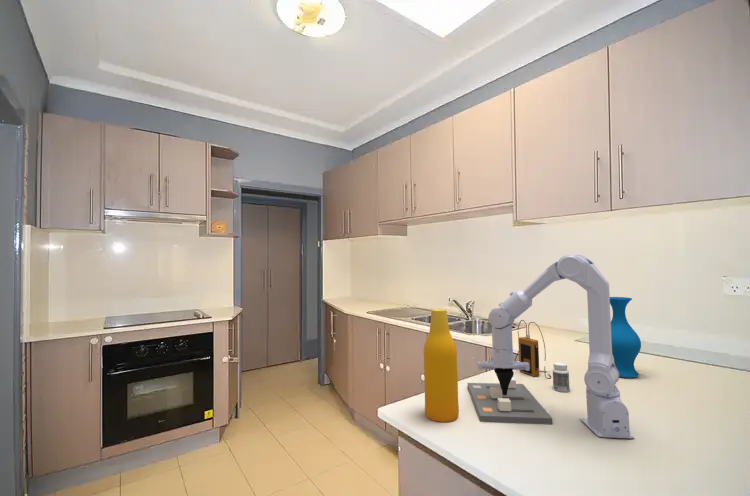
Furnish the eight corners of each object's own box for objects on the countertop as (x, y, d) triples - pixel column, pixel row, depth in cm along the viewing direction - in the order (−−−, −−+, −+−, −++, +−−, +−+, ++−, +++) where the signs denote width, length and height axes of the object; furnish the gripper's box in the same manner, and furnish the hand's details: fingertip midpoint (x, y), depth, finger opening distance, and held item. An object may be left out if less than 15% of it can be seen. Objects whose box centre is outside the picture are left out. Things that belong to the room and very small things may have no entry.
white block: (511, 411, 94) (510, 401, 94) (499, 410, 95) (499, 401, 95) (509, 407, 97) (508, 398, 97) (497, 407, 97) (497, 398, 97)
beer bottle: (463, 412, 98) (460, 308, 100) (452, 425, 90) (449, 313, 92) (432, 406, 103) (429, 307, 105) (419, 418, 95) (417, 311, 97)
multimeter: (562, 376, 128) (560, 321, 129) (542, 380, 124) (540, 323, 125) (531, 366, 141) (529, 316, 142) (512, 369, 138) (510, 318, 139)
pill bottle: (571, 392, 112) (570, 366, 112) (555, 391, 113) (554, 365, 113) (566, 387, 116) (565, 362, 117) (551, 386, 117) (550, 361, 118)
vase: (610, 378, 124) (606, 299, 125) (597, 368, 136) (593, 296, 138) (650, 380, 121) (645, 299, 123) (632, 370, 133) (628, 296, 135)
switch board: (552, 424, 90) (552, 417, 90) (480, 421, 93) (480, 415, 93) (523, 388, 116) (522, 383, 116) (467, 387, 118) (467, 382, 118)
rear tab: (516, 388, 111) (515, 380, 112) (506, 388, 112) (506, 380, 112) (514, 385, 114) (513, 378, 114) (504, 385, 114) (504, 377, 114)
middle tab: (502, 398, 103) (502, 389, 103) (491, 398, 104) (491, 389, 104) (500, 395, 106) (500, 387, 106) (490, 395, 106) (489, 386, 106)
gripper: (523, 345, 108) (525, 389, 107) (475, 344, 110) (477, 388, 109) (531, 350, 101) (532, 398, 100) (479, 350, 103) (481, 397, 102)
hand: (504, 394), depth 104 cm, fingers closed
